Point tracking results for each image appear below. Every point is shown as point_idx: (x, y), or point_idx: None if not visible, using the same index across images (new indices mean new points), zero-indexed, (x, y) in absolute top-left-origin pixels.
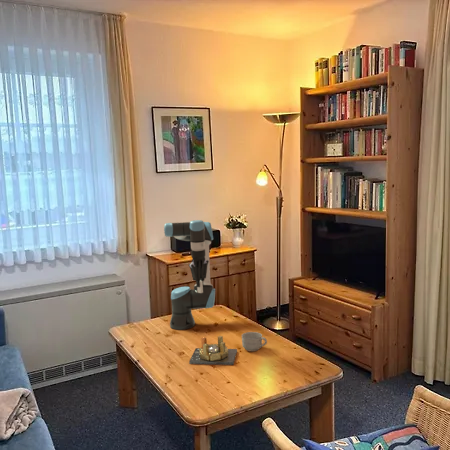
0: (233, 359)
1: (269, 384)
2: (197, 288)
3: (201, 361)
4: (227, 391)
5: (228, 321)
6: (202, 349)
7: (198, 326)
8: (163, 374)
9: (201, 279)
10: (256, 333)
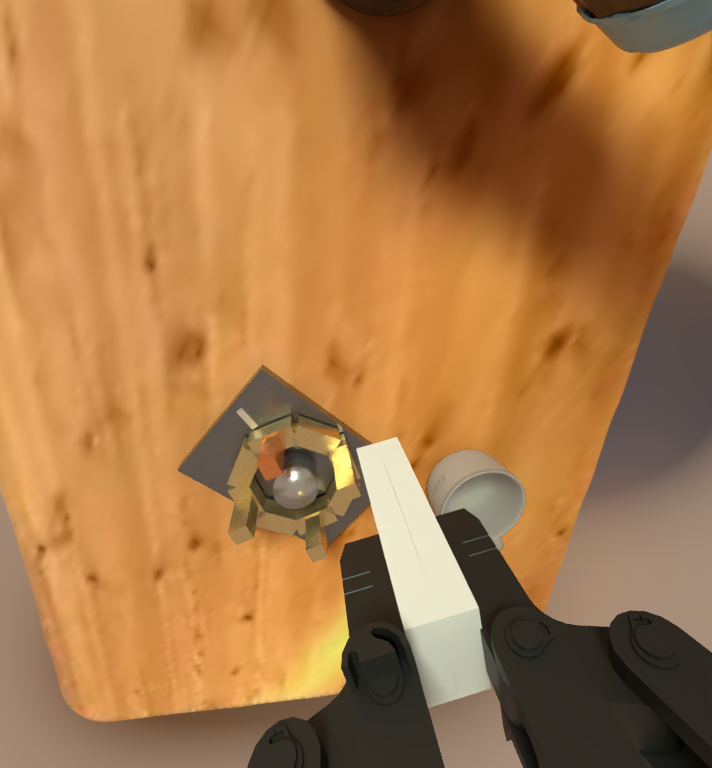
0: (336, 535)
1: (337, 661)
2: (367, 489)
3: (223, 495)
4: (218, 653)
5: (633, 97)
6: (254, 459)
7: (455, 25)
8: (46, 489)
9: (502, 703)
10: (519, 488)
